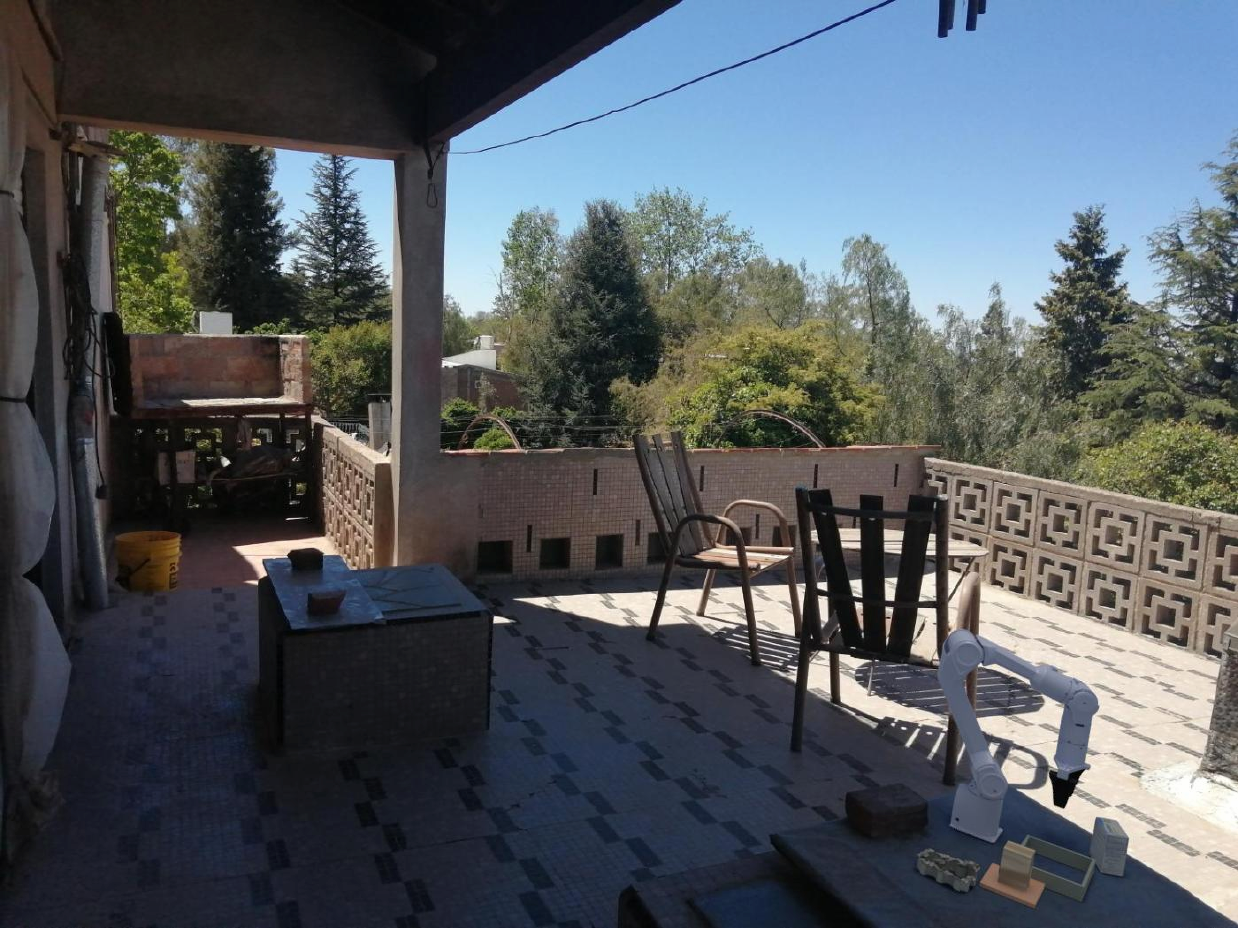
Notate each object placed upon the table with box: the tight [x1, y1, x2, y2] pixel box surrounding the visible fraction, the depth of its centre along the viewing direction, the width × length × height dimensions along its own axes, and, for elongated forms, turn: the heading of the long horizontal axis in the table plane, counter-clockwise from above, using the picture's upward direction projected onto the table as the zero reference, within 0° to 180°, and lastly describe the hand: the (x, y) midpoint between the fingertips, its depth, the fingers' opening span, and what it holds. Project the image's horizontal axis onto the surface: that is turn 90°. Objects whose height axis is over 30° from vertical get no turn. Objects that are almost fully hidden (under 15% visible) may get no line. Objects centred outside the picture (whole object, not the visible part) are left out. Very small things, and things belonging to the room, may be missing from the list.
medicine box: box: [1088, 816, 1130, 878], centre depth 192 cm, size 8×4×9 cm, turn 168°
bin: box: [1020, 834, 1096, 903], centre depth 186 cm, size 13×14×3 cm
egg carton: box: [916, 847, 981, 893], centre depth 180 cm, size 11×8×4 cm
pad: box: [979, 863, 1046, 909], centre depth 179 cm, size 10×10×1 cm
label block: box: [998, 840, 1036, 893], centre depth 179 cm, size 4×5×7 cm
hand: (1062, 800), depth 197 cm, fingers open, 7 cm apart
